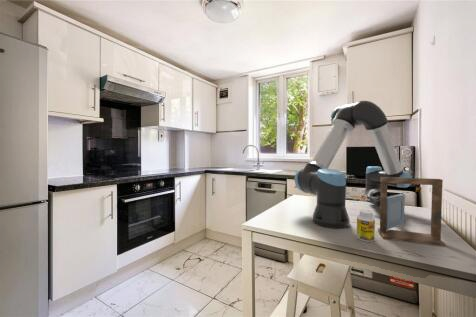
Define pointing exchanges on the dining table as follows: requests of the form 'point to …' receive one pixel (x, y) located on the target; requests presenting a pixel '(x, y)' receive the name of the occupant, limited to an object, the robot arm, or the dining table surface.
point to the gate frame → (435, 212)
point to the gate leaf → (395, 210)
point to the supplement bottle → (365, 226)
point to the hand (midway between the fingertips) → (391, 208)
